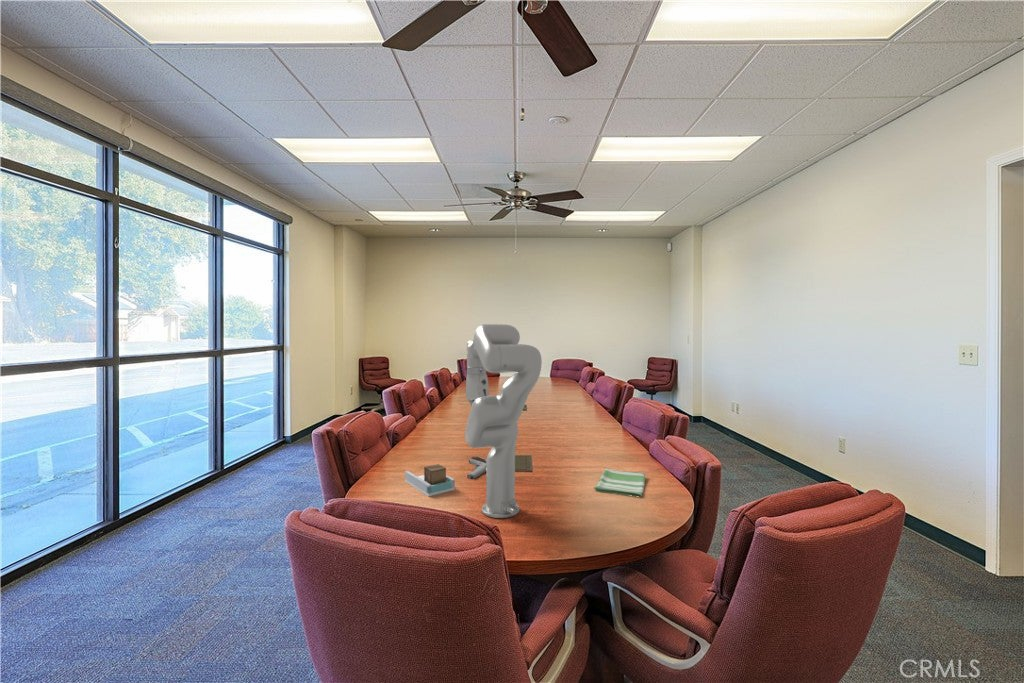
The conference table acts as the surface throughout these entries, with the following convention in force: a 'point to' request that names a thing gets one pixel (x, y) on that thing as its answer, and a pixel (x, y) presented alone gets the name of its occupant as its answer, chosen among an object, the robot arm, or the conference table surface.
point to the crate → (435, 474)
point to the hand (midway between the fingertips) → (476, 417)
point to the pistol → (477, 466)
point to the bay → (428, 488)
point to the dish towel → (621, 482)
